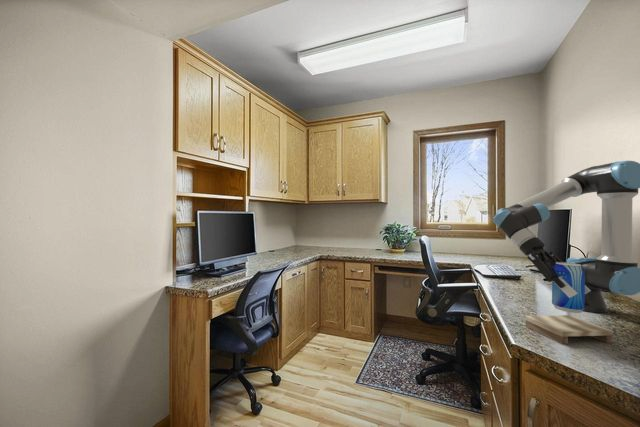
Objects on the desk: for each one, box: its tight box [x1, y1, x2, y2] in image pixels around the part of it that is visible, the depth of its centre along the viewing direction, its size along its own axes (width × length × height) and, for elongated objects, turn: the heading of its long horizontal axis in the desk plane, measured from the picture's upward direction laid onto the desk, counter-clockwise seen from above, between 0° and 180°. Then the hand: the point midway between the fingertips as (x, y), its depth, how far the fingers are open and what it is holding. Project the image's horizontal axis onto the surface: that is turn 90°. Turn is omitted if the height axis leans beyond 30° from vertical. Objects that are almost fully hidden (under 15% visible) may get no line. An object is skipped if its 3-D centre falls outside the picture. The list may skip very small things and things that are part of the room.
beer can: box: [551, 261, 585, 314], centre depth 94 cm, size 8×8×16 cm
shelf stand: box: [525, 314, 613, 345], centre depth 95 cm, size 18×14×4 cm
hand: (580, 294), depth 91 cm, fingers closed on beer can, 8 cm apart
